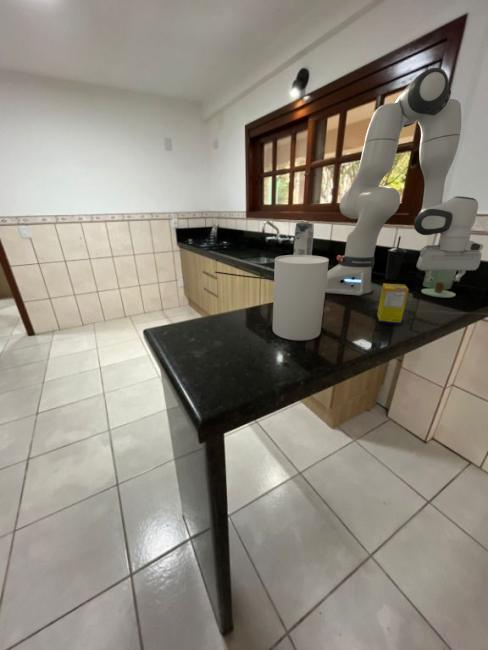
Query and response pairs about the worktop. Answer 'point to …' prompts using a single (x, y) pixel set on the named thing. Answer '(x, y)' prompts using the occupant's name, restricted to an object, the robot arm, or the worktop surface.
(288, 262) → the canister
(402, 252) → the drinking cup
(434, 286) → the pot
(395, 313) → the supplement box
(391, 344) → the worktop surface
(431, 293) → the lid
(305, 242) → the juice carton
